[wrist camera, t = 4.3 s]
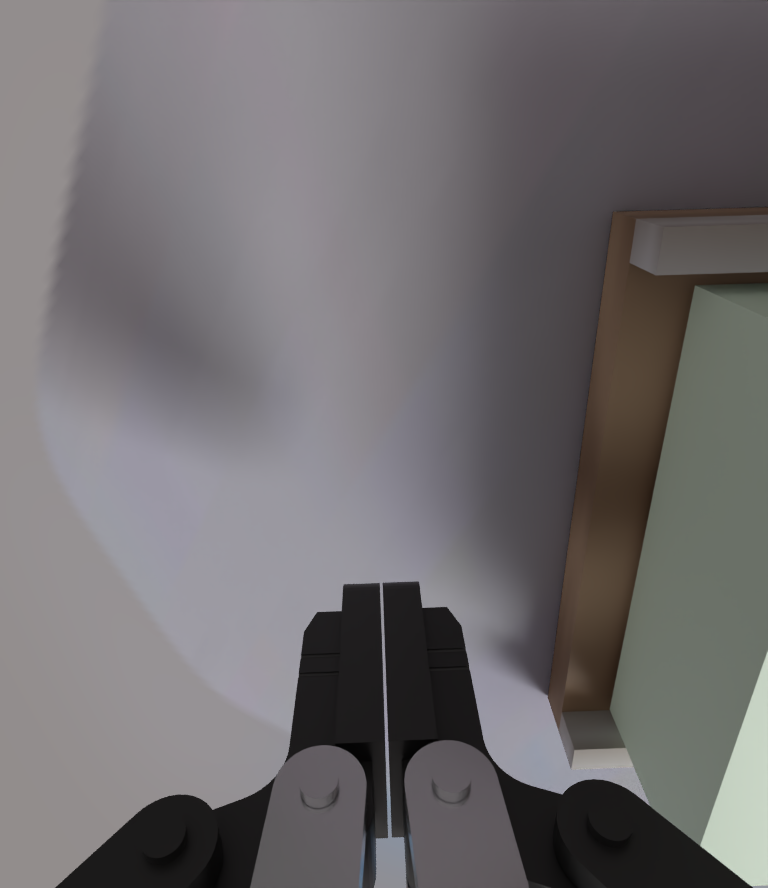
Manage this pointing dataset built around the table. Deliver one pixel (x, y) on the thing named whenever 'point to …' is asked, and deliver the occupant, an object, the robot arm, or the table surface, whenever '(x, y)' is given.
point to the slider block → (707, 593)
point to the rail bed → (632, 444)
